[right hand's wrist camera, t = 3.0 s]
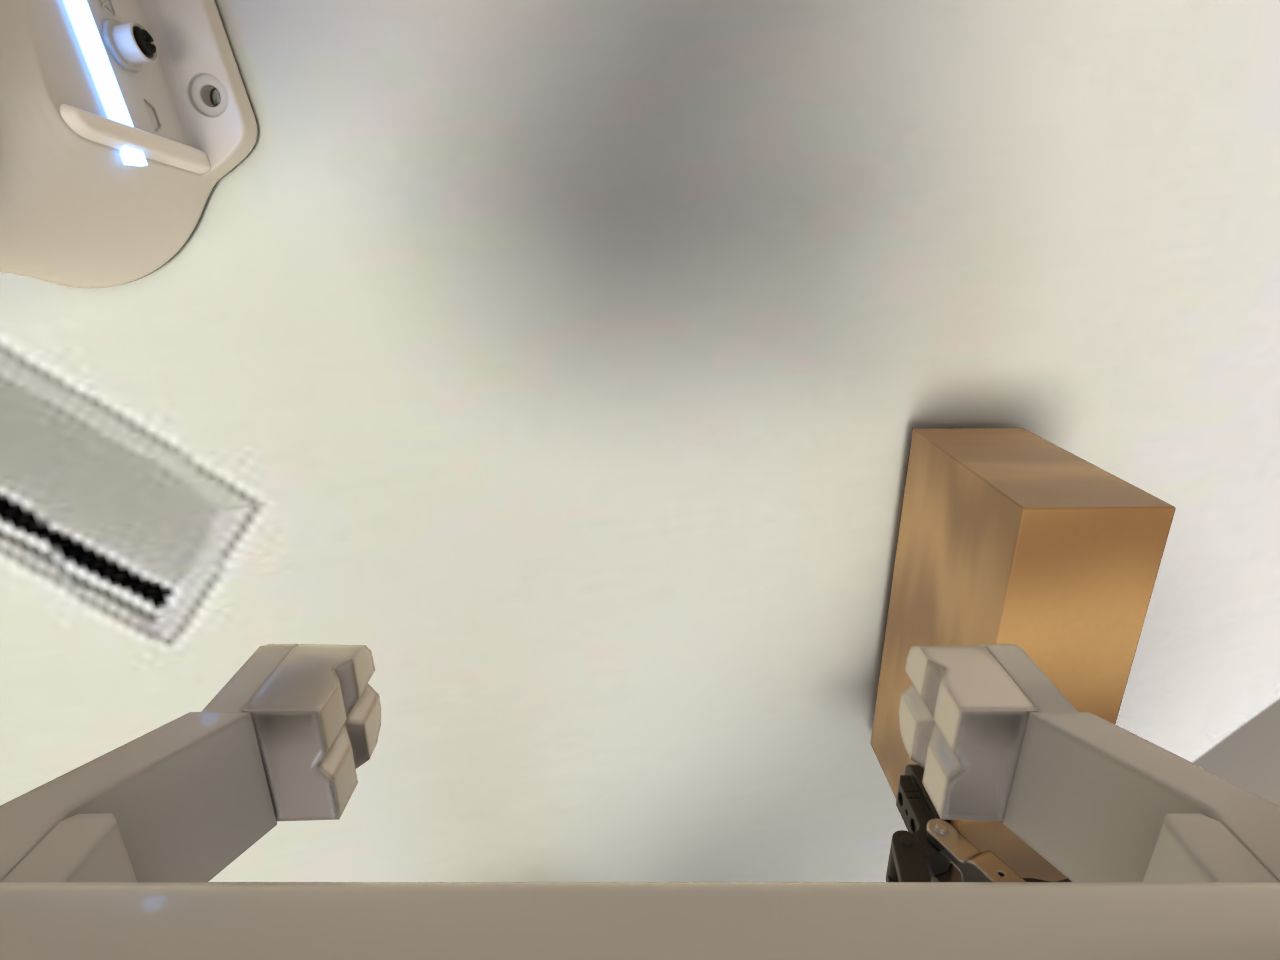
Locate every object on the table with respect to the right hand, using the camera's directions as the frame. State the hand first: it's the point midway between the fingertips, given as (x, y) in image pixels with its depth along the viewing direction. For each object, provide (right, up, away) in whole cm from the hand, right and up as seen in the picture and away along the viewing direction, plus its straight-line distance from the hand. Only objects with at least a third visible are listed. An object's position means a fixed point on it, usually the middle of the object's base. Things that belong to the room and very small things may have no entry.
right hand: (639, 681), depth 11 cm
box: (+17, -4, +29) cm, 34 cm away
